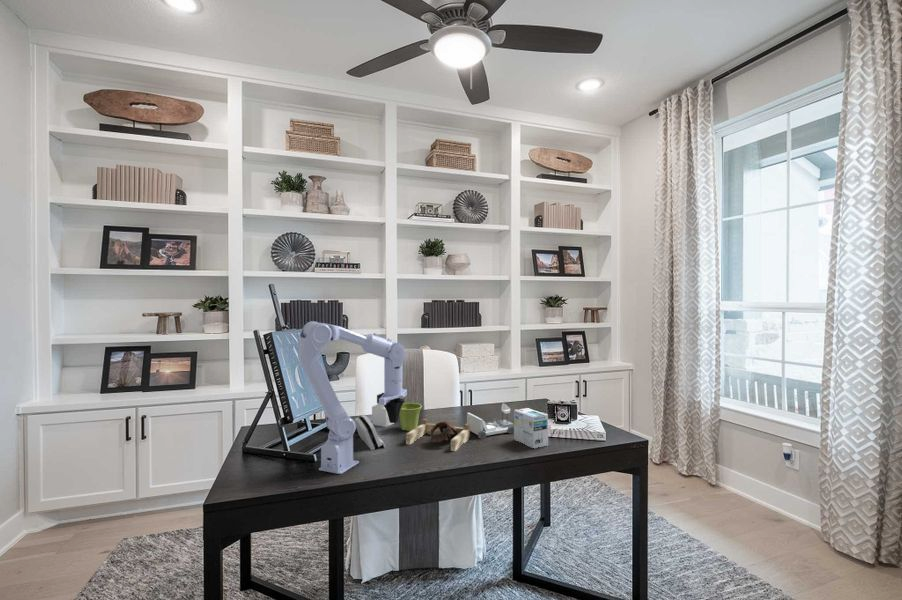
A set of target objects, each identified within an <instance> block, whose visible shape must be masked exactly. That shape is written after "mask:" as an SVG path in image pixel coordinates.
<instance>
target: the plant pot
mask: <svg viewBox="0 0 902 600" xmlns="http://www.w3.org/2000/svg"><path fill="white" fill-rule="evenodd" d="M422 407H423V406H422V404H420V403H416V402H404V403H403V405H402V407H401V410H400V413H399V421H400V430H402V431H407V432H410V431H412V430H413V429H415V428H416V427H418V426H419V425H418V424H419V418H420V412H421V409H422Z"/></svg>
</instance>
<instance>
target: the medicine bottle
mask: <svg viewBox="0 0 902 600" xmlns="http://www.w3.org/2000/svg"><path fill="white" fill-rule="evenodd" d="M383 394H384V392H379V393H378V394H376V405H372V406H371V423H372V424H373V426H379V427H382V428H383V427H384V428H387V427H389V426H393V425H394V424H395V425H396V423H390V421H389V417H388V414H387V411H386V408H385V407H384V405H379V398H381V397H382V396H383Z"/></svg>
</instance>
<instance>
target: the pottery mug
mask: <svg viewBox="0 0 902 600" xmlns="http://www.w3.org/2000/svg"><path fill="white" fill-rule="evenodd" d="M435 424H436V425H434V426H433V427H432V429H431V434H429V435H430V442H431V444H432V443H433V444H434V443H439V442H442V441H449V438H450V440H452V439H453V438H454V437H455V436H457V435H458V433H457V431H456V429H455V428H454V426H453V425H452V424H451V423H449V422H448V421H446V420H444V421H443V420H442V421H439V422H437V423H435ZM438 427H439V429H440V431H441V433H440V434H433V432H434V431H435V430H436V429H437V428H438ZM448 435H450V437H447V436H448Z"/></svg>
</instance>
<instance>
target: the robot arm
mask: <svg viewBox="0 0 902 600" xmlns="http://www.w3.org/2000/svg"><path fill="white" fill-rule="evenodd" d="M298 338H299V344H298V345H299V346H298V355H297V358H298V362H299V363H300V364H301V367H302V369H303V371H304V373H305V375H306V377H307V379H308V381H309V383H310V385H311V387H312V389H313V392H314V393H315V395H316V397H317V398H318V400H319V403H320V405H321V406H322V408H323V414H324V416H325V425H326V427H327V429H328V430H329V432H328V436H327V437H328V438H327V440H326V441H325V443H324V444H322V446H321V449H320V467H319V468H318V470H319V471H320V472H321V471H322V472H328V473H332V474H337V475H338V474H339V475H342V474H344V473H345V472H347V471H348V470H350V469H352V468H354V467H355V466H356V465H358V464H360V461H359V460H355V459H354V434H355V432H356V430H357V428H356V424H355V421H354V419H353V418H352V417H350V416H349V415H348V413H347V411H346V410H345V408H344V407H343V405H342V404H341V402H340V400H339V398H338V396H337V394H336V392H335V391H334V387H333V386H332V384H331V382H330V380H329V378H328V376H327V374H326V372H325V369H324V367H323V366H322V363H321V361H320V359H319V357H320V356H321V352H322V350H323V349H324V348H325V347H326V346H327V345H328V344H329V343H330V341H331V342H335V341H338V340H343V341H346V342H349V343H352V344H356V345H358V346H361V349H362V350H363V351H364V352H365V353H368V354H372V355H374V356H377V357H381V358H383V359H384V363H383V364H384V367H383V368H384V371H383V372H384V386H383V387H384V390H383V391H384V394H383V396H382V397H381V398H379V405H384V407H385V408H386V411H387V414H388V417H389V421H390V423H395V424H397V423H398V421H399V418H400V416H399V413H400V410H401V407H402V405H403V404H404V403H405V399H404V398H405V397H406V396H407V395H408V389H406V388H405V389H404V388H403V360H404V359H405V358H406V353H407V351H406V350H405V347H404V346H403V344H402V343H398V342H395V341H392V338H384V337H381V336H379V333H376V332H374V333H369V334H367V335H363V334H361V333H358V332H355V331H352V330H350V329H347V328H345V327H343V326H339V325H334V324H330V323H324V322H318V321H313V320H311V321H309V322H306V323H305V324H304V325H303V327H302V328H301V331H300V333H299V335H298Z"/></svg>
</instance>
